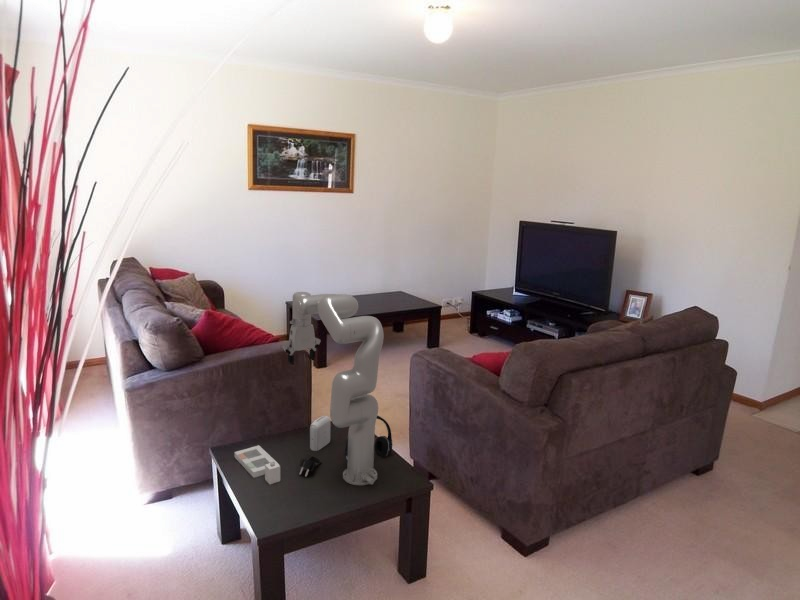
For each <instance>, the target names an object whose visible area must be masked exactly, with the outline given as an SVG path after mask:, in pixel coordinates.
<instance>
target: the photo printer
mask: <svg viewBox="0 0 800 600" xmlns="http://www.w3.org/2000/svg"><path fill="white" fill-rule="evenodd" d="M331 422H332V420H331V417H329V416H327V415H322V416H320V417H318V418H317V419H315V420H314V421H313V422H311V424H310V426H309V449H310V450H311V451H314V452H318V451H320V450H321V449H323V448H324V447H325V446H327V445H329V443H330V442H331V425H332V424H331Z"/></svg>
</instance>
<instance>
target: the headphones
mask: <svg viewBox="0 0 800 600" xmlns="http://www.w3.org/2000/svg"><path fill="white" fill-rule="evenodd" d="M376 420H380V421H381V422H383V424H384V425H385V427H386V430H387V436H386V435H380V436H377V438H376V439H375V441H374V453H375V454H376V456H378V457H380V458H385V456H386V457H388V456H389V454H390V453H392V450H393V438H392V437H393V436H392V431H391V430H392V429H391V427H390V425H389V423H388V421H386V420H385V419H384V418H383V417H381V416H379V415H377V419H376ZM343 450H344V451H343V459H344V462H345V463H346V464H347V461H348V437H347V439H346V442H345V446H344V449H343Z"/></svg>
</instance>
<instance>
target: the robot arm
mask: <svg viewBox="0 0 800 600" xmlns="http://www.w3.org/2000/svg"><path fill="white" fill-rule="evenodd" d="M358 310H359V302H358V300H357V299H356V298H355V296H353V295H350V294H347V293H344V294H343V293H342V294H338V293H337V294H336V293H323V294H322V293H320V294H311V293H309V292H307V291H296V292H294V293H293V294H292V319H291V320H290V321H289V324H290V325H291V326H290V329H289V338H288V340H287V341H286V342H285V343H283V344H282V345H281V347H282V349H283V351H284V352H285V353H286V354H287V362H288V364H290V365H294V364H295V363H294V362H295V355H294V353H295V352H298V351H305V350H309V359H310V360H311V361H315V358H316V351H317V349H318V348H319V346H320V343H321V342H322V341H321V340H322V339H320V338H318V337H316V335H315V333H316V332H315V329H314V324H312V315H315V314H316V315H317V314H318V316H319V318H320V320H321V321H322V323H323V325H324V326H325V328H326V330H327V332H328V333H329V335H330V337H331V339H332V340H334V342H336V343H337V344H339V345H344V344H345V345H346V344H351V343H357V342H362V343H361V344H360V345H359V347H358V349H357V350H356V353H355V355H354V361H353V367H352V368H351V369H348V370H344V371H343V370H342V371H340V372H337V374H336V375H334V377H333V379H332V383H331V392H330V405H329V406H330V408H329V416H330V421H331V422H332V424H333V426H335V427H336V428H338V429H339V428H340V429H343V428H348V427H349V428H348V434H347V438H348V461H347V463H346V464H347V465H346V466H347V468H346V469H344V471H343V472H342V478H343V480H344V481H345V482H346V483H348V484H350V485H353V486H368V485H374V483H375V482H376V480H378V471H377V470H376V469H375V467H374V463H375V462H374V459H375V432H376V422H377V420H378V419H377V416H379V403H378V401H377V398H376V397H375V396H373V395H372V394H371V393H373V392H374V391H375V390H376V388H377V384H378V383H377V381H378V374H379V373H378V372H379V365H380V363H379V362H380V356H381V352H382V348H383V344H384V337H385V336H384V335H385V334H384V329H383V325H382V323H381V321H380V320H379V319H378V318H377V317H374V316H371V315H361V316H355V317H354V315H355V314H357V312H358ZM288 347H289V348H288Z"/></svg>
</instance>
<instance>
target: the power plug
mask: <svg viewBox="0 0 800 600" xmlns="http://www.w3.org/2000/svg"><path fill="white" fill-rule="evenodd" d="M316 464H323V463H322V461H320V459H319V458H317V457H316V456H314V455H311V454H306V456H304V457H302V458H301V459H300V460H299V463H298V467H300V472H299V475H302V474H303V471H304V469H305V470H306V472H305V475H304V477H308V476H309V472H310V471H311V472H314V470H315V467H316Z"/></svg>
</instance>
